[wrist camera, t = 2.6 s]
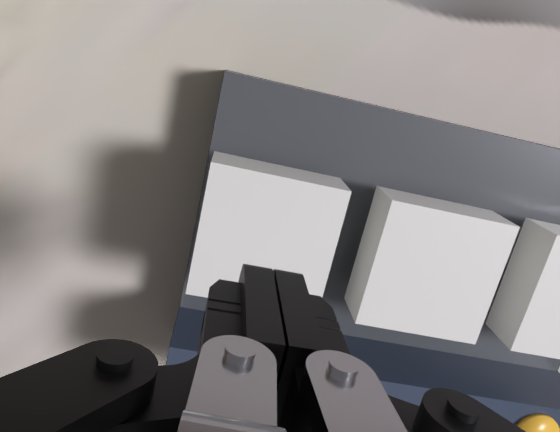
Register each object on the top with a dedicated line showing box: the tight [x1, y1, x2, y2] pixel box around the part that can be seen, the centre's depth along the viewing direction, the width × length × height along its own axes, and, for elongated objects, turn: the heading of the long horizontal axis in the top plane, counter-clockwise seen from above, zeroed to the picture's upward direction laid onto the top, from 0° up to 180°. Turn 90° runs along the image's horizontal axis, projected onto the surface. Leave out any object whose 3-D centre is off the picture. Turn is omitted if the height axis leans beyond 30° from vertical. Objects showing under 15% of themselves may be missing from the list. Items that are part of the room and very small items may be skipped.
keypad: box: [166, 70, 560, 432], centre depth 20 cm, size 17×12×5 cm
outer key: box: [185, 151, 352, 298], centre depth 17 cm, size 5×5×2 cm
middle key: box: [344, 186, 520, 344], centre depth 18 cm, size 5×5×2 cm
